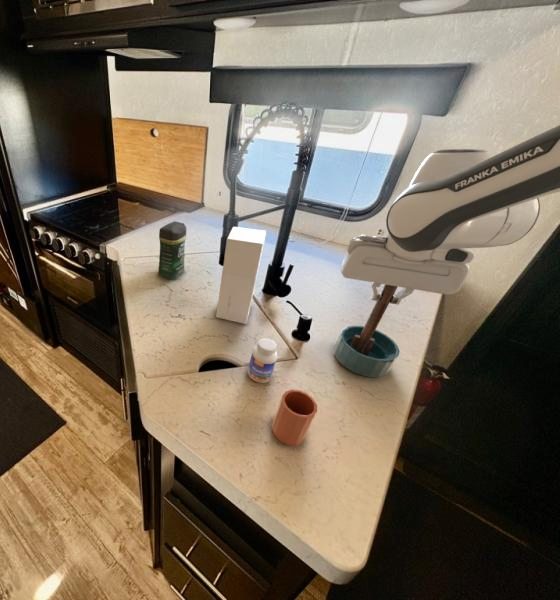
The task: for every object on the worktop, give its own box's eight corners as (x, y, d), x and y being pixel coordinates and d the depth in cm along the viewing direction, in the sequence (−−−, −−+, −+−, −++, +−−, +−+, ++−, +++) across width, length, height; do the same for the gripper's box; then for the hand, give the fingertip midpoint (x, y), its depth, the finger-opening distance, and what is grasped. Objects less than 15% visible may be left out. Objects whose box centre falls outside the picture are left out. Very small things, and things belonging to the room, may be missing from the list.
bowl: (383, 349, 80) (393, 332, 77) (393, 384, 71) (405, 366, 68) (331, 338, 84) (339, 321, 81) (334, 370, 75) (343, 352, 71)
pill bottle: (247, 380, 72) (254, 350, 66) (247, 364, 76) (254, 334, 71) (271, 385, 71) (281, 355, 65) (270, 368, 75) (279, 338, 70)
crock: (303, 423, 63) (316, 394, 58) (303, 450, 58) (317, 422, 53) (273, 413, 65) (283, 385, 60) (270, 439, 60) (281, 411, 55)
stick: (365, 352, 76) (402, 282, 65) (367, 358, 74) (404, 288, 63) (347, 348, 77) (380, 279, 66) (348, 354, 75) (382, 284, 64)
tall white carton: (215, 317, 91) (226, 238, 77) (222, 301, 98) (232, 226, 84) (246, 324, 89) (263, 244, 74) (250, 307, 95) (266, 230, 81)
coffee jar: (174, 282, 107) (176, 232, 96) (155, 276, 111) (154, 226, 100) (187, 271, 114) (190, 222, 103) (169, 265, 117) (170, 217, 106)
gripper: (354, 239, 60) (331, 298, 67) (487, 257, 53) (445, 320, 61) (351, 228, 64) (330, 284, 72) (472, 242, 58) (434, 302, 66)
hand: (383, 301), depth 67 cm, fingers closed on stick, 2 cm apart
